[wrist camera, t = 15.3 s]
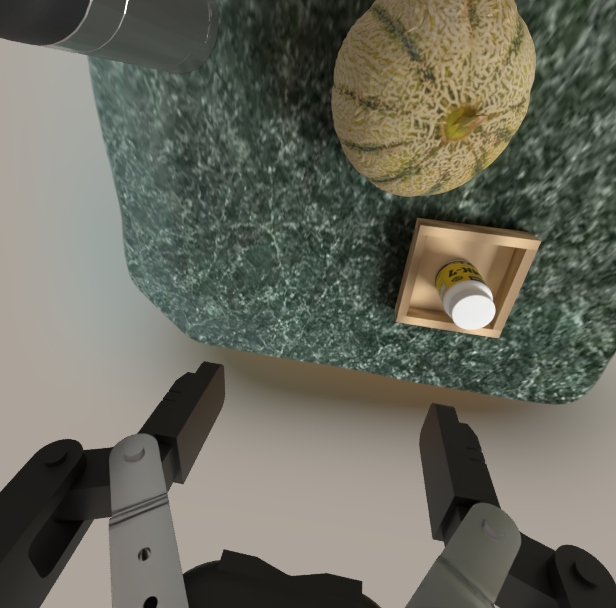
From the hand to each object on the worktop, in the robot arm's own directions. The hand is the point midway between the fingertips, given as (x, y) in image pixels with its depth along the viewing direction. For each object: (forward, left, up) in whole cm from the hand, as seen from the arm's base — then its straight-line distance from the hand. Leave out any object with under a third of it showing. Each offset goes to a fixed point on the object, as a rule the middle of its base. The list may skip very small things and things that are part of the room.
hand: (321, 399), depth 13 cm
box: (+13, -6, -30) cm, 33 cm away
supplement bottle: (+13, -6, -30) cm, 33 cm away
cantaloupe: (+4, +11, -30) cm, 32 cm away
